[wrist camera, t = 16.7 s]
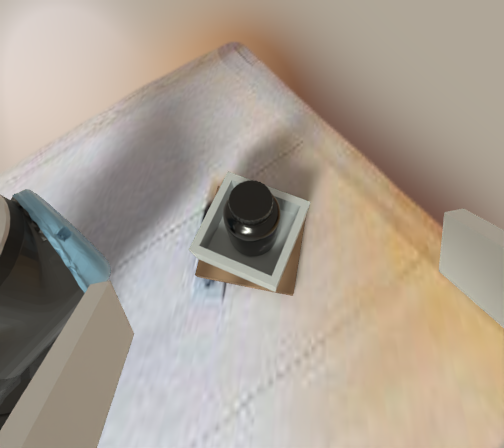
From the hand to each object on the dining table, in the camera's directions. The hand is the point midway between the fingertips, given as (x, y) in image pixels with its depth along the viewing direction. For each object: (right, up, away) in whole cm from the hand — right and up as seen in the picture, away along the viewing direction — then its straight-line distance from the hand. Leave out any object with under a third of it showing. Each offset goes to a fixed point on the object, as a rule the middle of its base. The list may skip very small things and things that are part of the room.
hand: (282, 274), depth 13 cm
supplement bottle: (-1, +1, +32) cm, 32 cm away
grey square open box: (-1, 0, +34) cm, 34 cm away
